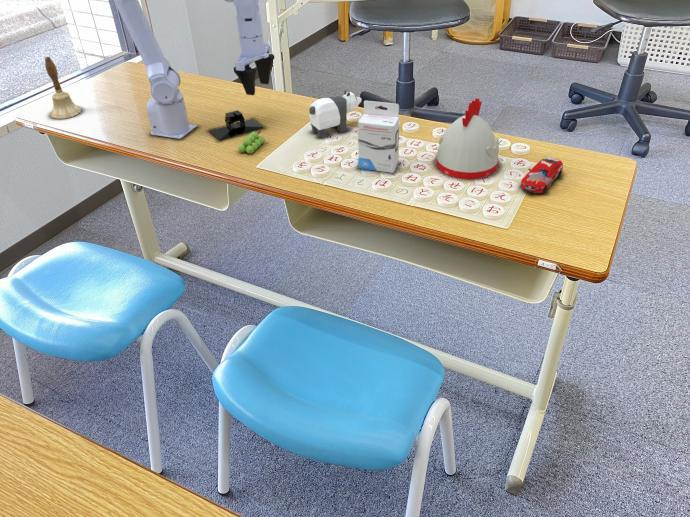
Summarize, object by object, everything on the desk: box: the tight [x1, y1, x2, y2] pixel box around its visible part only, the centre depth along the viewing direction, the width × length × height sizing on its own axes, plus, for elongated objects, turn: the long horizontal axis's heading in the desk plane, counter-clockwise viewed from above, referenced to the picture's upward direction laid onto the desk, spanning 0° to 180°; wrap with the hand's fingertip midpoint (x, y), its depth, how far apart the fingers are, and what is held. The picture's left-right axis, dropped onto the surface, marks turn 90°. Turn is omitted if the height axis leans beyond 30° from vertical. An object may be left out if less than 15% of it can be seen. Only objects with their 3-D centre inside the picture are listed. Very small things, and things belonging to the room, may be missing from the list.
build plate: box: [208, 109, 264, 142], centre depth 153 cm, size 12×7×5 cm, turn 123°
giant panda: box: [308, 89, 363, 139], centre depth 150 cm, size 15×6×10 cm, turn 119°
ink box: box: [357, 100, 400, 174], centre depth 132 cm, size 8×5×15 cm, turn 72°
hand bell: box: [44, 56, 82, 120], centre depth 163 cm, size 8×8×16 cm
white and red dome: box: [435, 98, 500, 180], centre depth 131 cm, size 14×14×15 cm
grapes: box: [237, 130, 265, 155], centre depth 146 cm, size 4×9×3 cm, turn 159°
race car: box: [520, 156, 564, 194], centre depth 127 cm, size 13×5×4 cm, turn 140°
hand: (257, 88), depth 151 cm, fingers open, 7 cm apart
